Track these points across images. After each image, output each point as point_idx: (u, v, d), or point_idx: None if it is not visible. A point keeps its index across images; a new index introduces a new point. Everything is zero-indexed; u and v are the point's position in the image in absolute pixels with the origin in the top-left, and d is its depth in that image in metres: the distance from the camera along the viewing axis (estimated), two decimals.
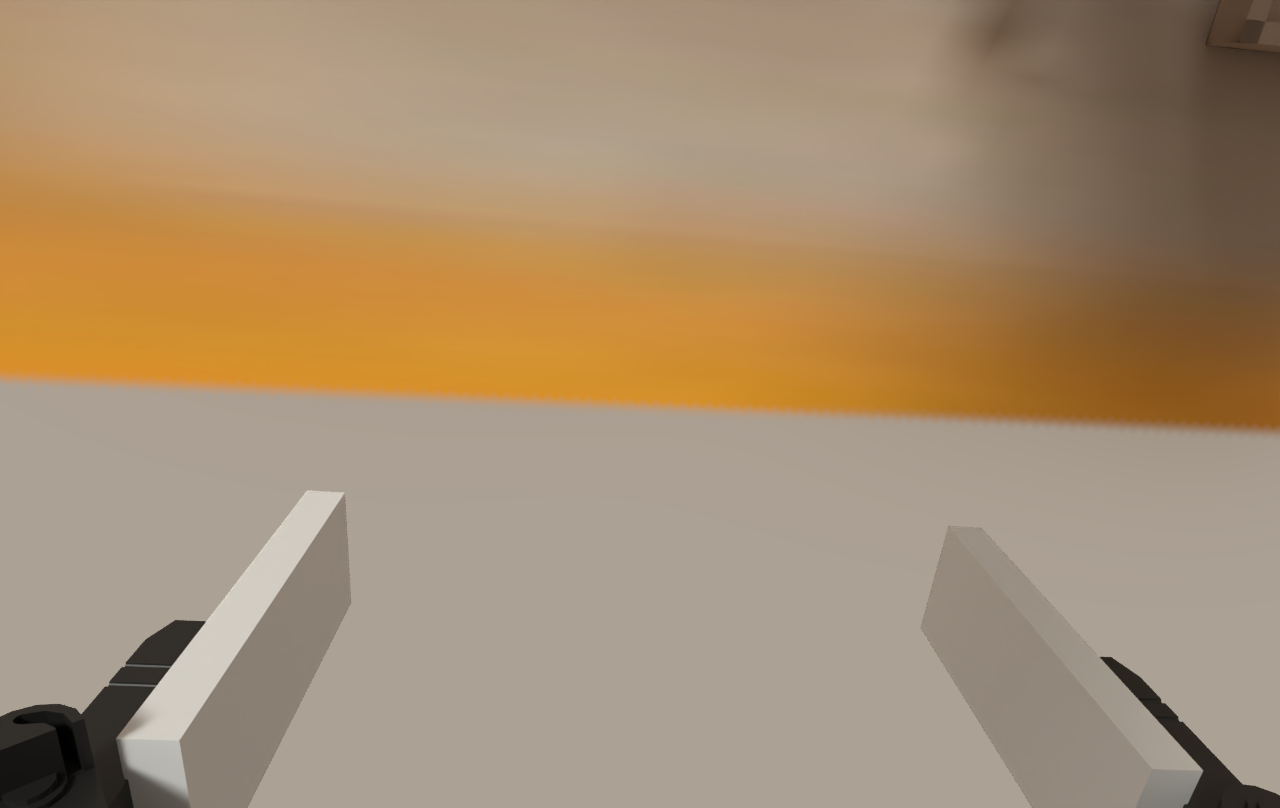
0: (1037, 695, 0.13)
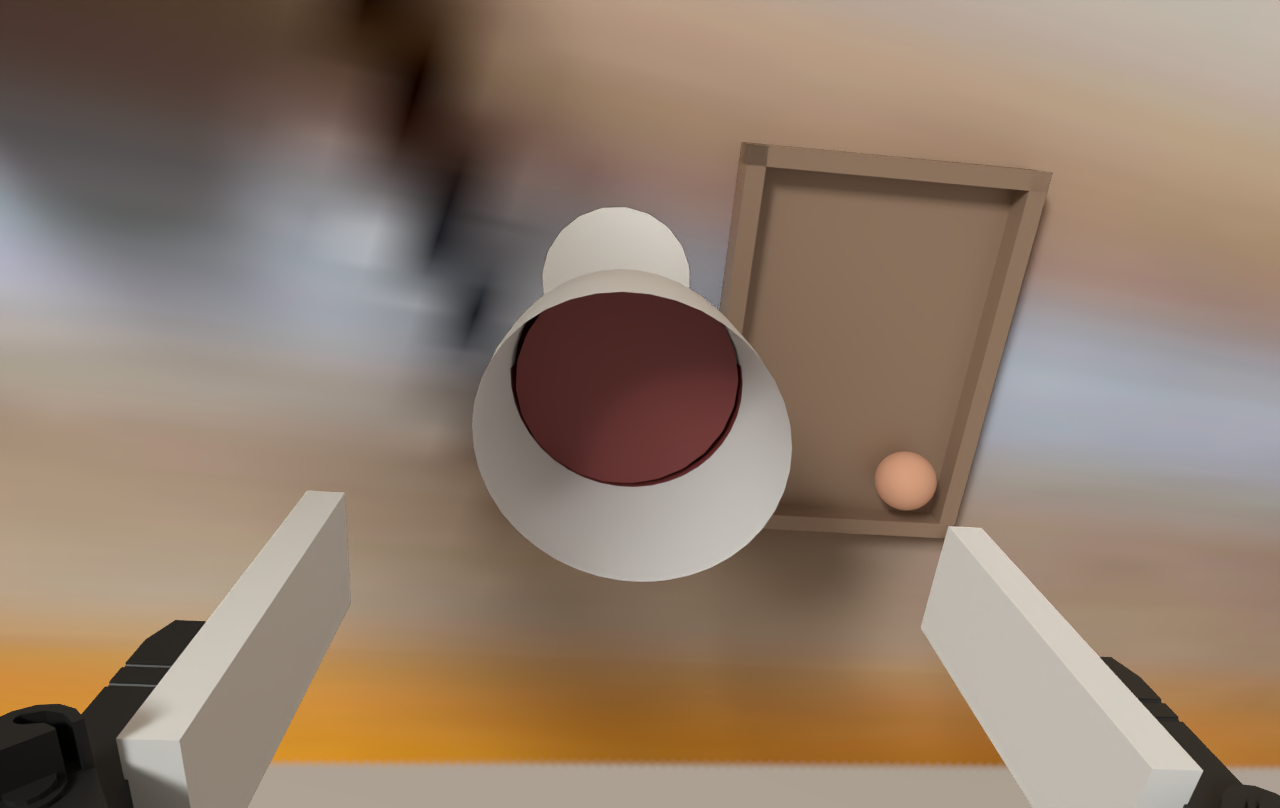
0: (1037, 695, 0.13)
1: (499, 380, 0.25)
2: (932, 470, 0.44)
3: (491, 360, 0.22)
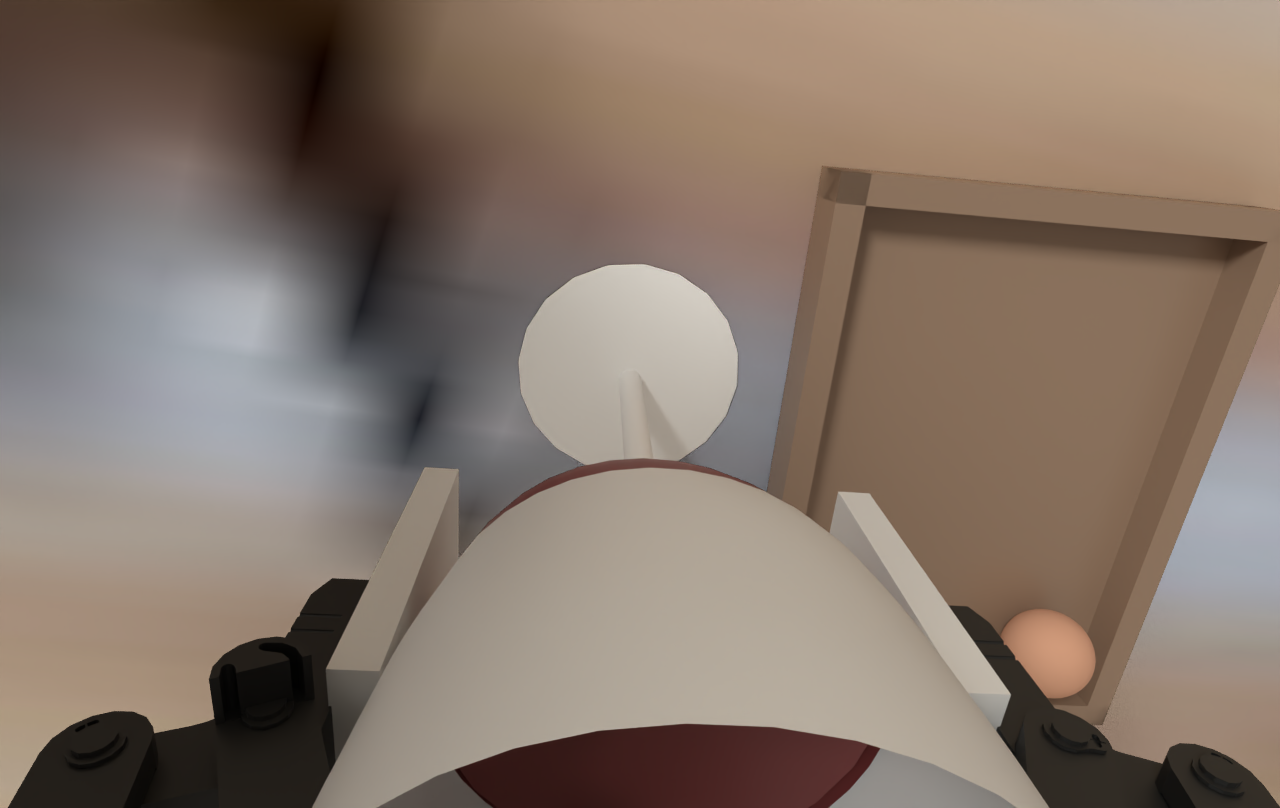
0: None
1: None
2: (1090, 643, 0.30)
3: (320, 791, 0.08)
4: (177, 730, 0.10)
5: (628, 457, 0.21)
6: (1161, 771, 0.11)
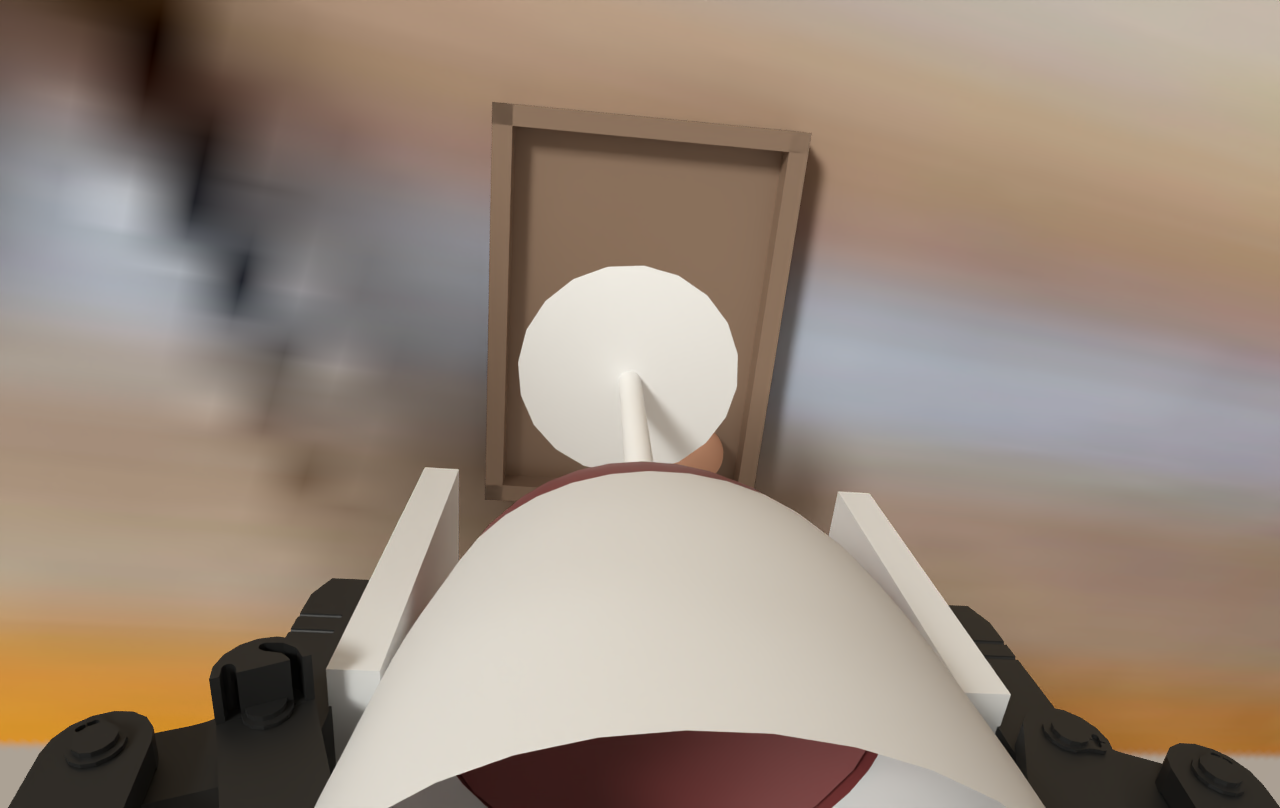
0: None
1: None
2: (716, 442, 0.43)
3: (320, 796, 0.08)
4: (177, 730, 0.10)
5: (628, 459, 0.21)
6: (1161, 771, 0.11)
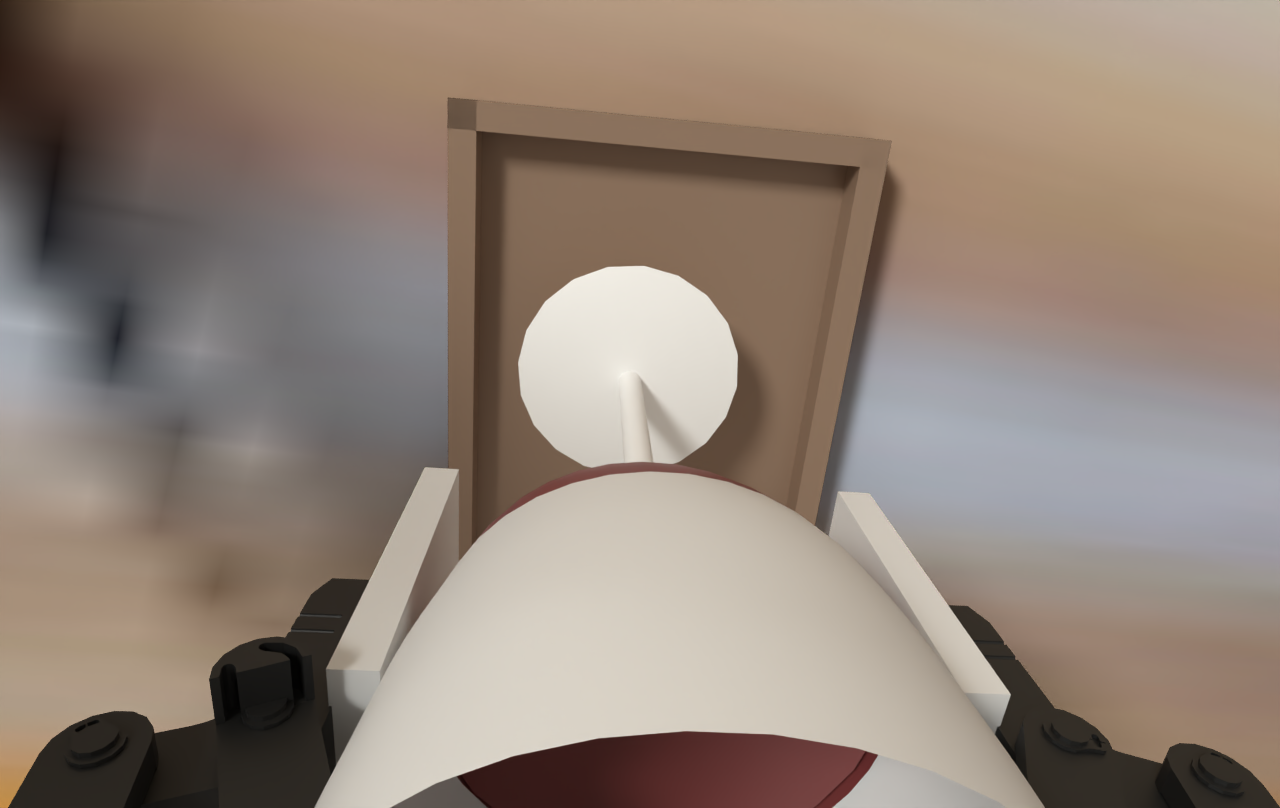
0: None
1: None
2: None
3: (320, 796, 0.08)
4: (177, 730, 0.10)
5: (628, 459, 0.21)
6: (1161, 771, 0.11)
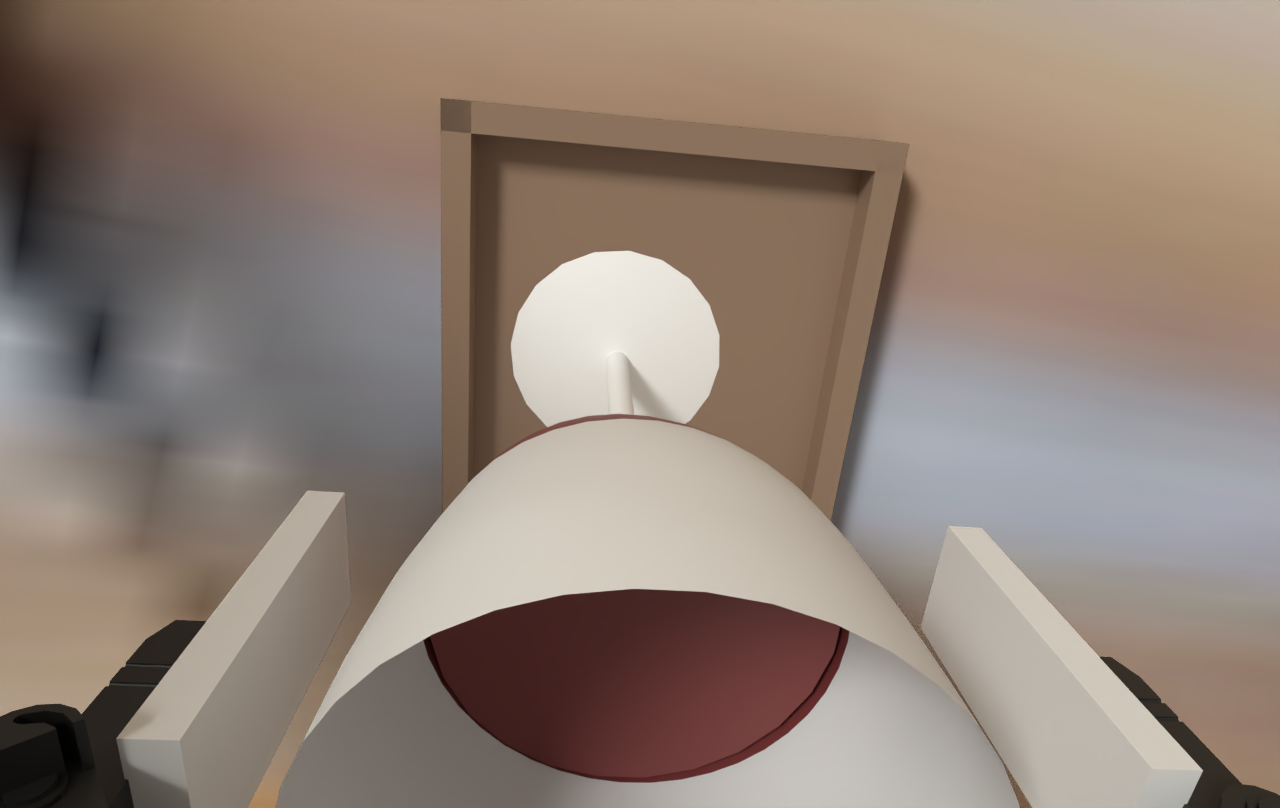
0: (1037, 695, 0.13)
1: None
2: None
3: None
4: None
5: None
6: None
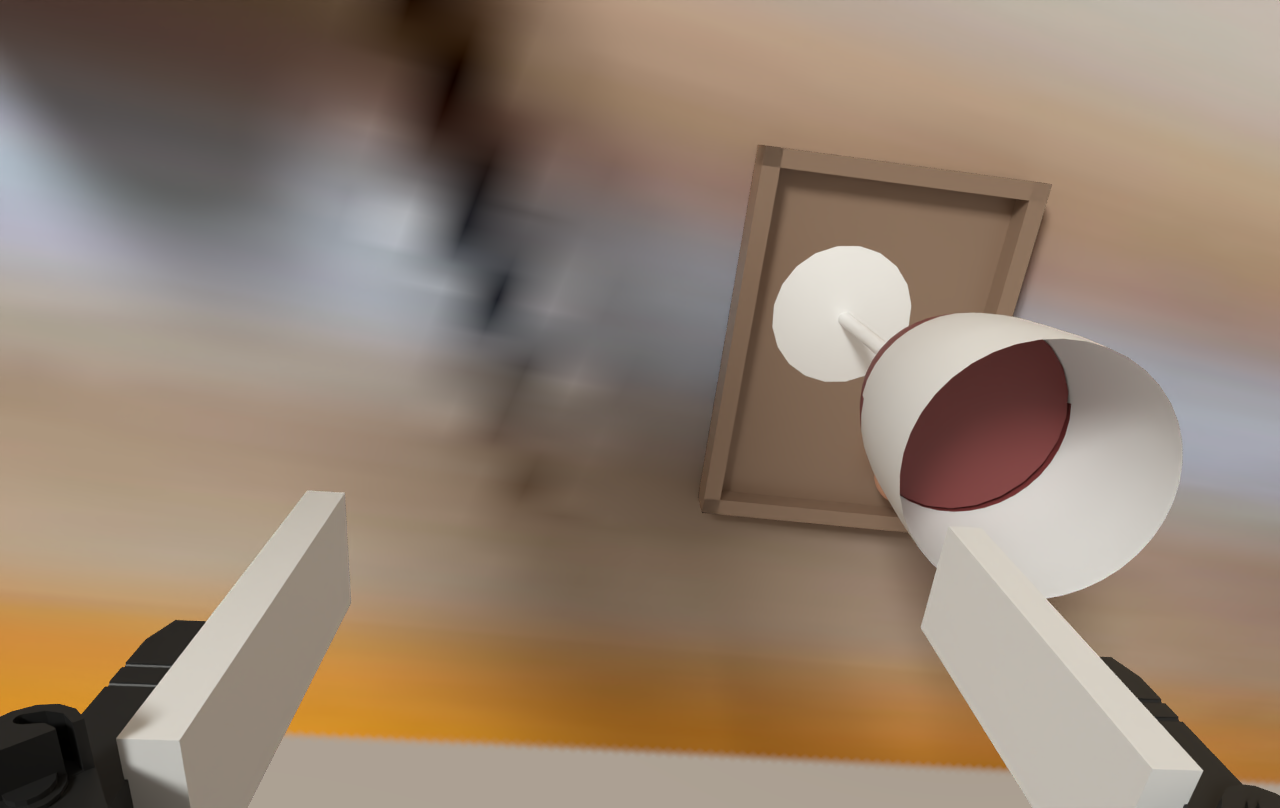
0: (1037, 695, 0.13)
1: (869, 410, 0.27)
2: None
3: (904, 394, 0.24)
4: None
5: (882, 348, 0.37)
6: None
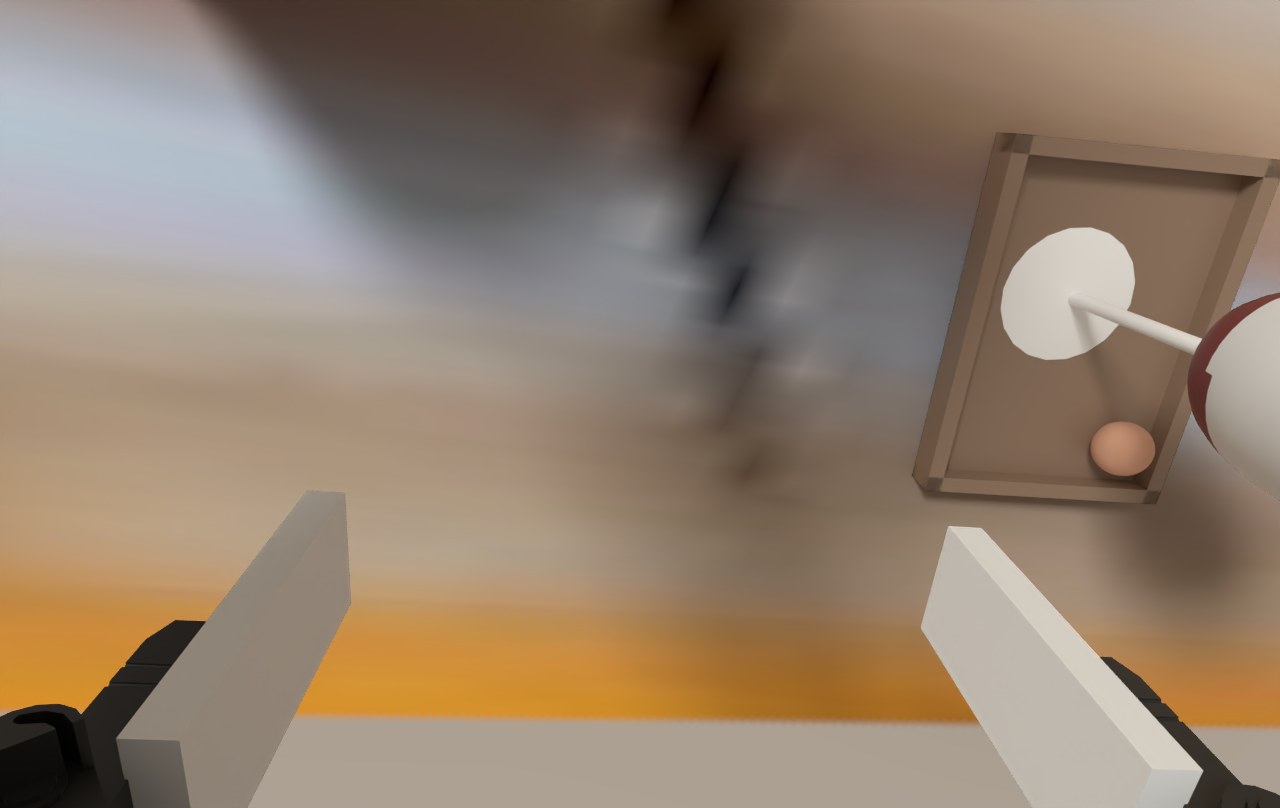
0: (1037, 695, 0.13)
1: (1232, 386, 0.29)
2: (1151, 438, 0.47)
3: None
4: None
5: (1152, 325, 0.38)
6: None
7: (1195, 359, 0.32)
